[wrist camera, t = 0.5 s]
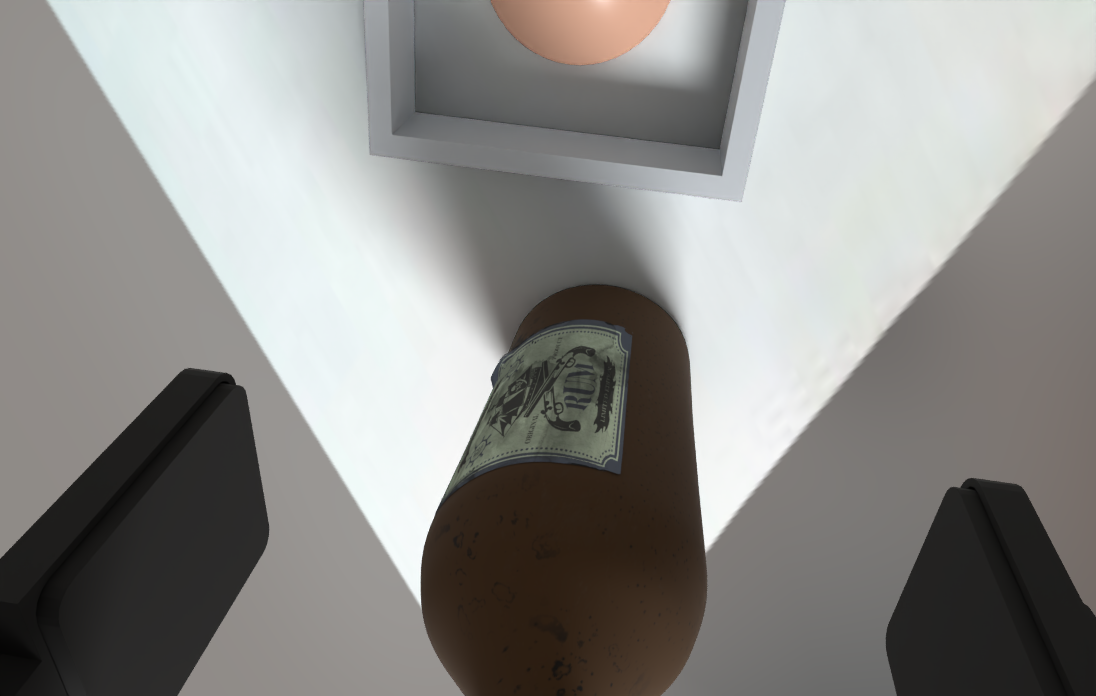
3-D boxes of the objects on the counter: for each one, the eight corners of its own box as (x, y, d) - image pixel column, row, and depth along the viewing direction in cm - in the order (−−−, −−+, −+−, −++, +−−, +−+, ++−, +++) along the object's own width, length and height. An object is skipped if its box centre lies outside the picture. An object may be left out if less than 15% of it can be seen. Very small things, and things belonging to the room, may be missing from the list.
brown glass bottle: (726, 415, 44) (761, 945, 23) (547, 457, 47) (432, 951, 26) (664, 244, 39) (634, 710, 18) (469, 304, 42) (253, 755, 21)
